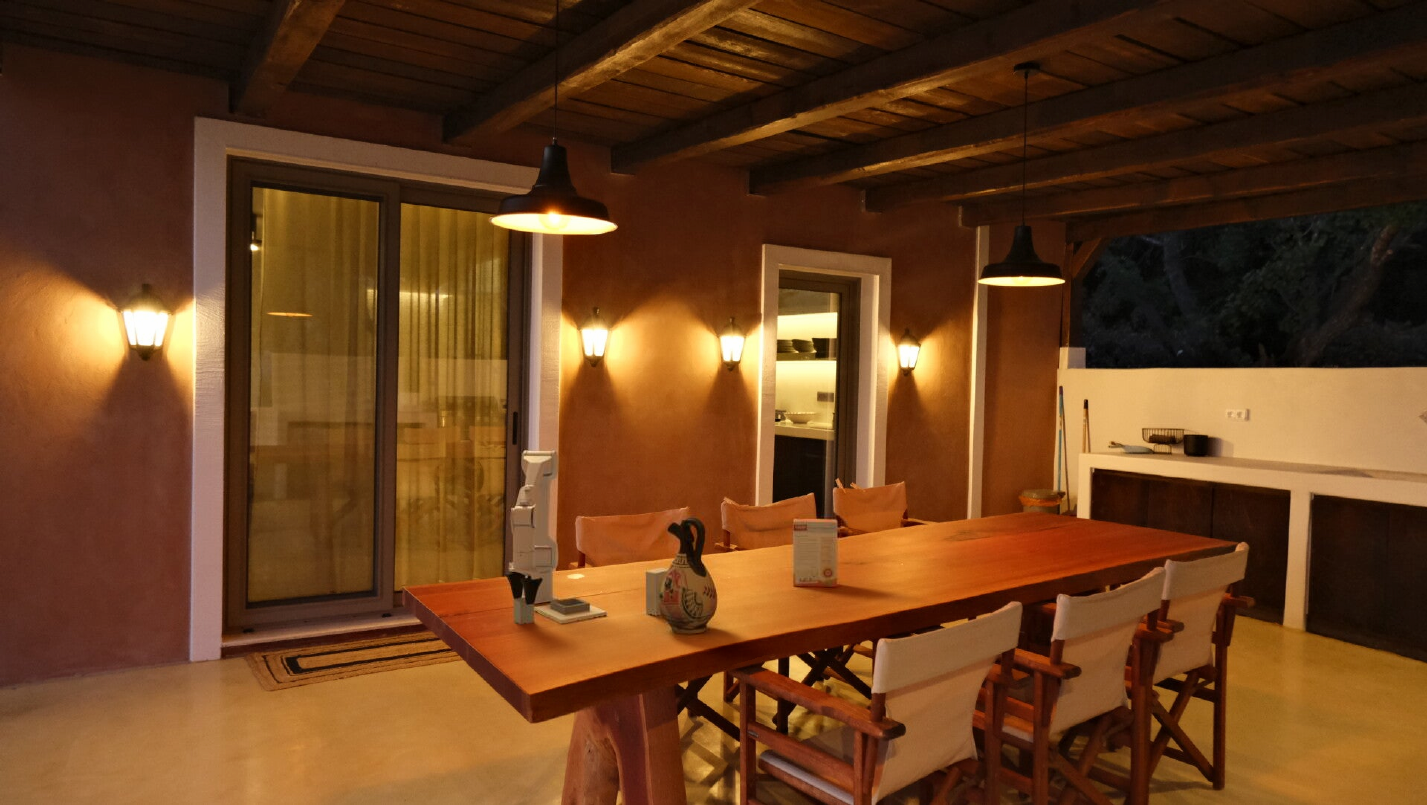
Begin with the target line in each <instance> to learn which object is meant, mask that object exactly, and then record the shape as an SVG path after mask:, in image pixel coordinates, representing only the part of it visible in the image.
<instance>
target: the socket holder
mask: <svg viewBox="0 0 1427 805" xmlns="http://www.w3.org/2000/svg"><path fill="white" fill-rule="evenodd" d="M549 602H550V603H549V604H545V605H540V606H534V612H535V611H537V612H538V614H540V615H542V616H543V617H547V618H548V617H549V618H548V619H550V620H551V621H554V620H555V622H556V621H557V623H559V624H561V625H562V623H563V624H568V623H572V622H578V621H577V620H579V621H583V620H590V619H593V618H592V617H596V618H600V617H599V616H601V617H604V616H603V615H606V616H607V615H608V613H607V611H606V610H603V609H601V608H599V607H596V606H594V605H592V604H591V603H590V602H588V601H585V600H583V599H580V598H578V597H571V598H564V599H558V600H555V601H549ZM537 612H536V613H537ZM589 618H590V619H589Z"/></svg>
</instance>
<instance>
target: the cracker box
mask: <svg viewBox="0 0 1427 805" xmlns="http://www.w3.org/2000/svg"><path fill="white" fill-rule="evenodd" d="M792 529H793V537H792V543H793V544H792V548H793V549H792V585H793V587H819V588H820V587H821V588H838V520H837V519H833V518H831V519H829V518H828V519H825V518H793V527H792Z"/></svg>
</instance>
